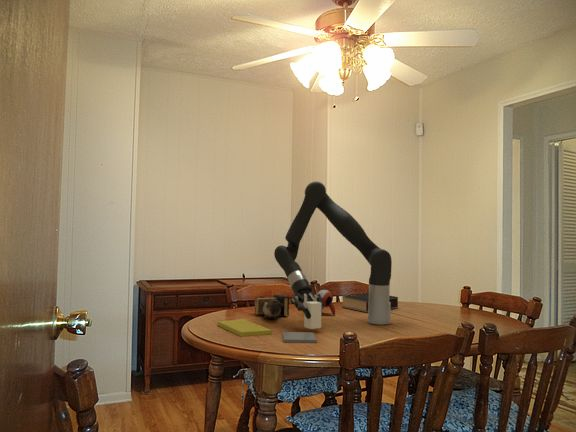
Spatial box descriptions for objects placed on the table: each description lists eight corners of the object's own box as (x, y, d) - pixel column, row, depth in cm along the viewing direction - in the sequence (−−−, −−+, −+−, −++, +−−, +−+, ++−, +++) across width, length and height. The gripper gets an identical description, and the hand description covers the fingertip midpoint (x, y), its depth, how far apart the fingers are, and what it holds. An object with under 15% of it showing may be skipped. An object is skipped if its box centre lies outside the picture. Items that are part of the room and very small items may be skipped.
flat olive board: (217, 326, 188) (244, 339, 167) (217, 321, 188) (244, 333, 168) (243, 324, 194) (271, 335, 174) (243, 319, 194) (272, 330, 174)
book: (398, 309, 240) (398, 297, 240) (366, 313, 225) (366, 300, 225) (373, 304, 254) (373, 292, 254) (341, 308, 239) (342, 296, 239)
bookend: (278, 294, 222) (299, 296, 200) (278, 316, 221) (299, 320, 199) (251, 294, 217) (269, 296, 195) (250, 316, 215) (269, 321, 193)
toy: (332, 325, 216) (339, 298, 212) (302, 319, 215) (309, 291, 212) (329, 311, 230) (336, 286, 226) (301, 305, 229) (307, 280, 226)
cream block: (313, 325, 184) (314, 301, 185) (321, 327, 180) (321, 302, 180) (303, 326, 182) (304, 301, 182) (311, 329, 177) (311, 303, 178)
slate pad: (313, 334, 175) (313, 332, 175) (316, 342, 163) (316, 339, 163) (282, 334, 174) (282, 331, 174) (283, 342, 162) (284, 339, 162)
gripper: (288, 279, 184) (304, 313, 173) (316, 277, 192) (333, 310, 181) (281, 290, 188) (296, 324, 178) (309, 288, 196) (325, 320, 185)
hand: (315, 317), depth 180 cm, fingers closed on cream block, 5 cm apart
